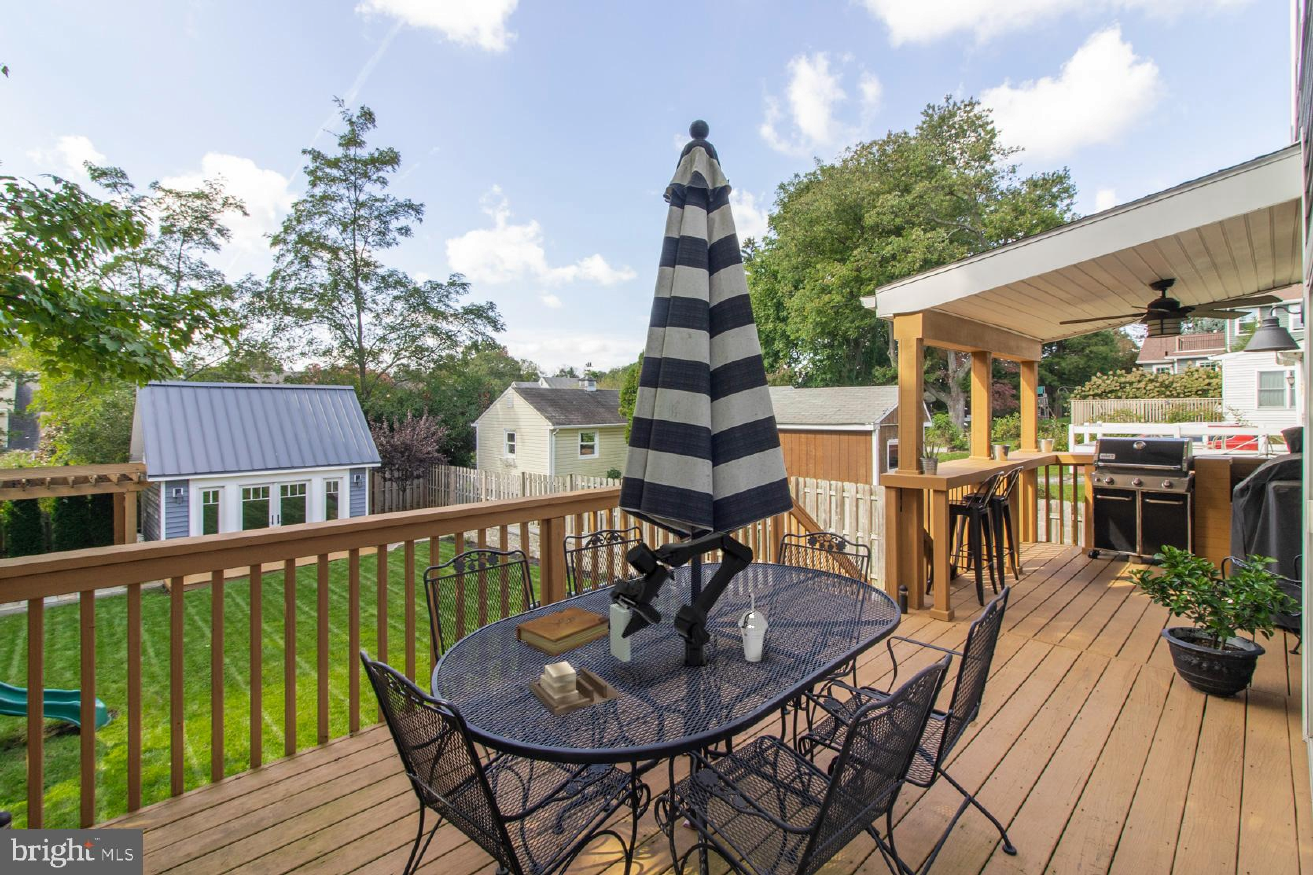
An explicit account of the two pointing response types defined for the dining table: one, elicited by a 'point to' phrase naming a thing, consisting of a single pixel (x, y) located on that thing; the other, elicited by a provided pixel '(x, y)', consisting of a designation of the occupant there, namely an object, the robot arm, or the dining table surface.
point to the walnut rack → (579, 693)
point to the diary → (563, 630)
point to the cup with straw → (753, 632)
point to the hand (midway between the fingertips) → (615, 633)
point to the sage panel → (619, 632)
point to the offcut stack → (560, 683)
